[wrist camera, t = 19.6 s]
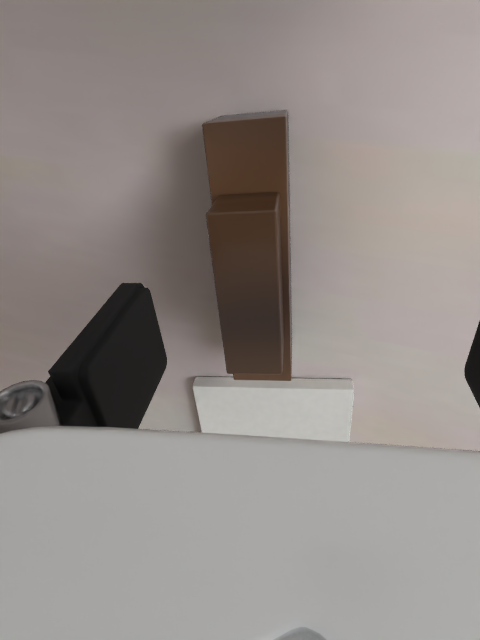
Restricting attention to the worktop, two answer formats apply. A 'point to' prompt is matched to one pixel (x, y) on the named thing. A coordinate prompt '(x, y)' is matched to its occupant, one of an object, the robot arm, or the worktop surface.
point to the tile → (276, 407)
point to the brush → (251, 241)
